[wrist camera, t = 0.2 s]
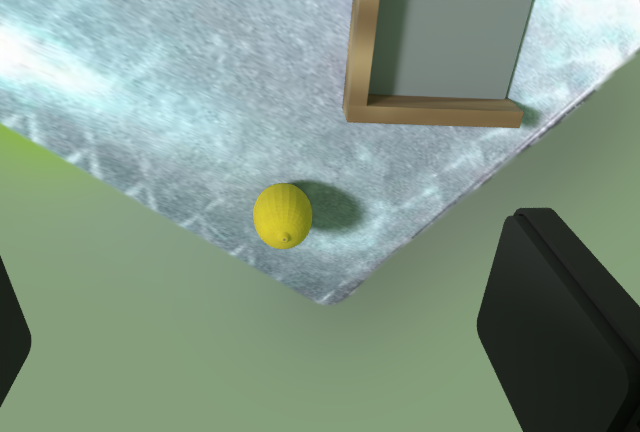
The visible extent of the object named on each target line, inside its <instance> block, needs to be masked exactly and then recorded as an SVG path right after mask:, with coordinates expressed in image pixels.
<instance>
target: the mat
mask: <svg viewBox="0 0 640 432" xmlns="http://www.w3.org/2000/svg"><path fill="white" fill-rule="evenodd" d="M531 3H532V0H379V8H378V17H377V25H376V33H375V41H374V49H373V57H372V65H371V74H370V82H369V90H368V94H378V95H403V96H428V97H453V98H479V99H504V100H505V97H506V93H507V90H508V86H509V82H510V79H511V75H512V72H513V68H514V64H515V61H516V57H517V53H518V50H519V46H520V43H521V39H522V35H523V32H524V28H525V24H526V21H527V17H528V14H529V10H530V6H531Z"/></svg>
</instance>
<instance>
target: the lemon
mask: <svg viewBox="0 0 640 432" xmlns="http://www.w3.org/2000/svg"><path fill="white" fill-rule="evenodd" d="M253 218H254V224H255V228H256V230H257V232H258V234H259V236H260V238H261V239H262V240H263V241H264V242H265V243H267V244H268V245H270V246H272V247H274V248H278V249H289V248H292V247H295V246H297V245H298V244H300V243H301V242H302V241H303V240H304V239H305V238H306V236H307V235H308V233H309V230H310V228H311V225H312V208H311V204H310V201H309V199H308V198H307V196H306V194H305V193H304V192H303V191H302V190H301V189H299V188H298V187H296V186H294V185H291V184H288V183H279V184H274V185H272V186H269V187H268V188H266V189H265V190H264V191H263V192H262V193H261V194H260V195H259V197H258V199H257V201H256V203H255V206H254V213H253Z"/></svg>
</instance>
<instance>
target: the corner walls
mask: <svg viewBox="0 0 640 432" xmlns="http://www.w3.org/2000/svg"><path fill="white" fill-rule="evenodd" d="M378 8H379V0H353V3H352V13H351V24H350V34H349V45H348V55H347V66H346V76H345V86H344V97H343V107H342V108H343V111H344V114H345V117H346V120H347V122H354V123H384V124H413V125H443V126H473V127H503V128H519V127H520V124H521V120H522V117H523V114H524V112H523V111H522V110H521V109H520V108H519V107H518V106H517V105H515V104H514V103H513V102H512V101H511V100H510V99H508V98H505V100H504V99H479V98H453V97H428V96H403V95H378V94H368V90H369V82H370V74H371V65H372V57H373V49H374V41H375V33H376V25H377V17H378Z"/></svg>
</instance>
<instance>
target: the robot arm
mask: <svg viewBox="0 0 640 432" xmlns="http://www.w3.org/2000/svg"><path fill="white" fill-rule="evenodd" d="M477 331H478V335H479V338H480V340H481V343H482V345H483V347H484V349H485V351H486V353H487V355H488V357H489V360H490V362H491V364H492V366H493V368H494V370H495V373H496V375H497V377H498V379H499V381H500V383H501V385H502V388H503V390H504V392H505V394H506V396H507V398H508V400H509V403H510V405H511V407H512V409H513V411H514V413H515V415H516V417H517V420H518V422H519V424H520V426H521V428H522V430H523V432H640V307H639V305H638V304H637V303H636V302H635V301H634V300H633V299H632V298H631V296H630V295H629V294H628V293H627V292H626V291H625V290H624V289H623V287H622V286H621V285H620V284H619V283H618V282H617V281H616V280H615V278H613V276H612V275H611V274H610V273H609V272H608V271H607V270H606V268H605V267H604V266H603V265H602V264H601V263H600V262H599V261H598V259H597V258H596V257H595V256H594V255H593V254H592V253H591V252H590V250H589V249H588V248H587V247H586V246H585V245H584V244H583V243H582V241H581V240H580V239H579V238H578V237H577V236H576V235H575V234H574V232H573V231H572V230H571V229H570V228H569V227H568V226H567V225H566V223H565V222H564V221H563V220H562V219H561V218H560V217H559V216H558V215H557V213H556V212H555V211H554V210H552V209H551V208H520V209H518V210H516V212H515V213H514V215H513V216H508V217H507V218H506V220H505V222H504V225H503V229H502V233H501V236H500V239H499V243H498V247H497V250H496V254H495V257H494V261H493V265H492V268H491V272H490V275H489V279H488V282H487V286H486V290H485V293H484V297H483V300H482V304H481V308H480V311H479V314H478V318H477ZM30 348H31V334H30V331H29V328H28V326H27V323H26V320H25V318H24V316H23V313H22V310H21V308H20V305H19V302H18V300H17V297H16V295H15V292H14V290H13V287H12V284H11V282H10V279H9V277H8V274H7V272H6V269H5V266H4V264H3V261H2V259H1V256H0V407H1V405H2V403H3V401H4V399H5V397H6V395H7V394H8V392H9V390H10V388H11V386H12V384H13V382H14V380H15V379H16V377H17V374H18V373H19V371H20V369H21V367H22V365H23V363H24V362H25V360H26V358H27V356H28V354H29V351H30Z"/></svg>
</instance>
